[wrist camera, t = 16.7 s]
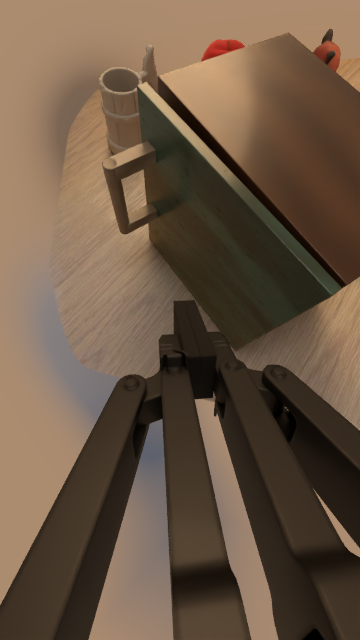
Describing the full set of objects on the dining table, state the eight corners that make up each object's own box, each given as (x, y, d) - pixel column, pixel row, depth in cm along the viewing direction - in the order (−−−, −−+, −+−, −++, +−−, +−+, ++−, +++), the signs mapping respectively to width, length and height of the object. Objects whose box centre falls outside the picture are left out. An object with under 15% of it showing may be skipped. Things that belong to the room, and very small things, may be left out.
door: (207, 371, 32) (272, 343, 13) (121, 254, 37) (78, 106, 18) (240, 346, 34) (342, 287, 15) (154, 236, 38) (146, 81, 19)
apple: (247, 119, 49) (268, 52, 39) (209, 132, 47) (221, 65, 37) (223, 90, 51) (237, 21, 41) (185, 101, 49) (191, 31, 39)
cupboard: (241, 346, 34) (347, 285, 15) (159, 234, 39) (157, 75, 19) (314, 295, 37) (478, 191, 18) (230, 198, 42) (289, 32, 23)
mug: (100, 144, 44) (78, 56, 32) (147, 117, 47) (142, 28, 35) (127, 168, 42) (114, 86, 31) (173, 139, 45) (177, 53, 34)
